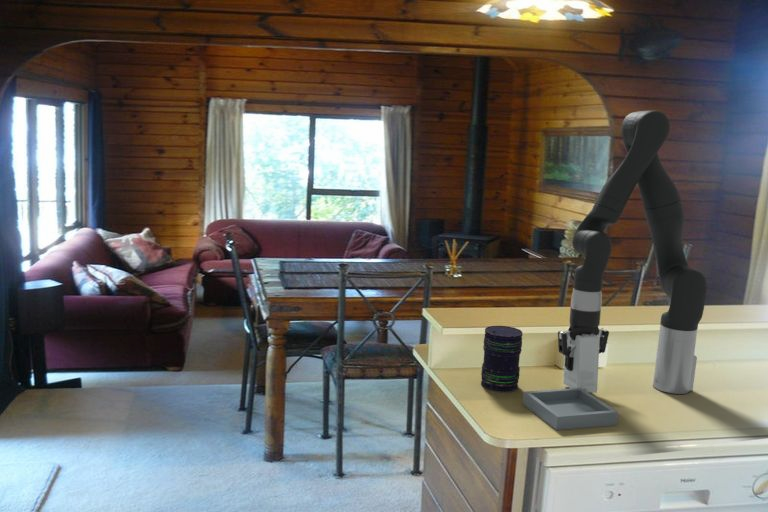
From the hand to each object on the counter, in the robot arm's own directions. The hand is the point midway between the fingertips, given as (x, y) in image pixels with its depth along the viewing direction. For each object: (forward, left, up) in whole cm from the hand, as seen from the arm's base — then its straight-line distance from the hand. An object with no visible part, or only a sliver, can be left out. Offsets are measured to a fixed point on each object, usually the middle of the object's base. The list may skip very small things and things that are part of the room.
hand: (580, 368), depth 193 cm
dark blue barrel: (+19, -7, -6) cm, 21 cm away
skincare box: (0, 0, -5) cm, 5 cm away
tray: (+11, +14, -6) cm, 19 cm away
